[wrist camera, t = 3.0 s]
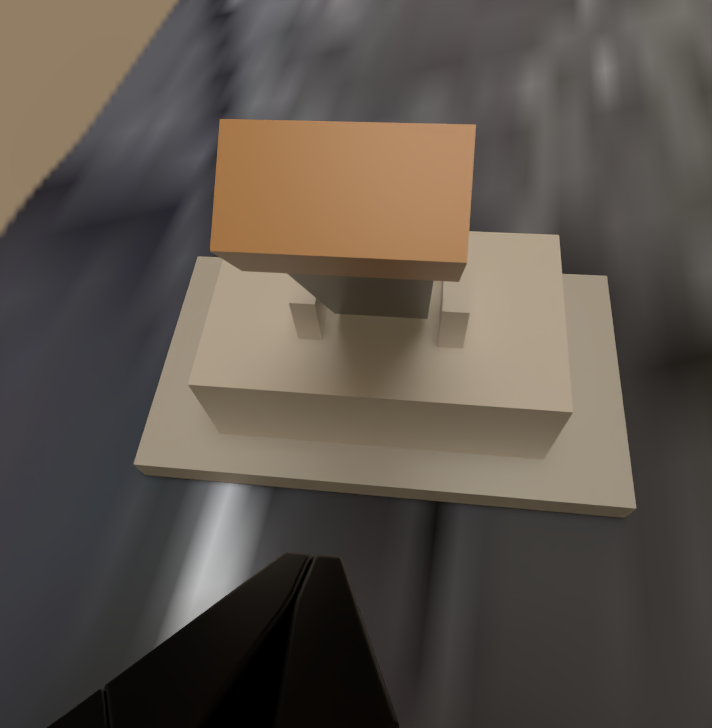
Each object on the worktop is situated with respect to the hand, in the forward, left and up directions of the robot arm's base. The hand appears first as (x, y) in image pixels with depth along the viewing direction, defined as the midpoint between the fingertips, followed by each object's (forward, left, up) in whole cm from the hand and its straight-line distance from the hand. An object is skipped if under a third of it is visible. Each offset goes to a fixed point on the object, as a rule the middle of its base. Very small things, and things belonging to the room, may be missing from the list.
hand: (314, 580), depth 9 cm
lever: (+4, +9, -7) cm, 12 cm away
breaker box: (+4, +9, -13) cm, 16 cm away
